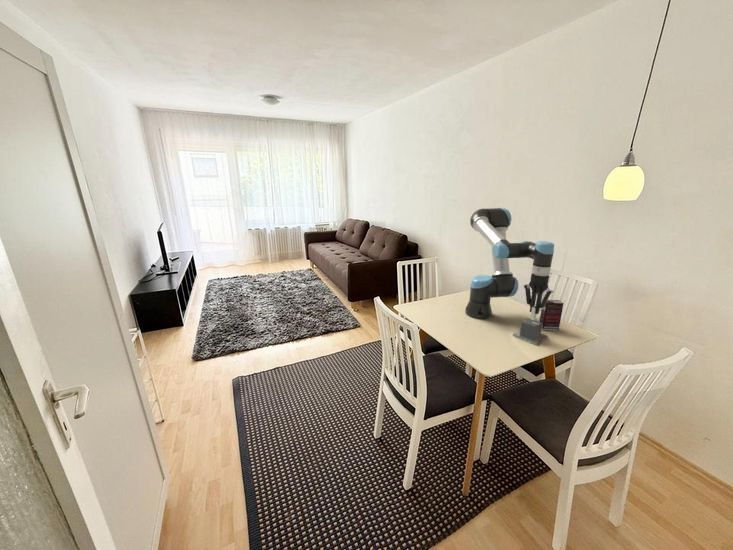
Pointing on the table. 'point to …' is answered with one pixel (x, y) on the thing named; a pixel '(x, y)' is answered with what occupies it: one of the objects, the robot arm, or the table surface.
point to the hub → (532, 341)
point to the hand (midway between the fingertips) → (533, 318)
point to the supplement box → (551, 315)
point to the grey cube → (531, 328)
